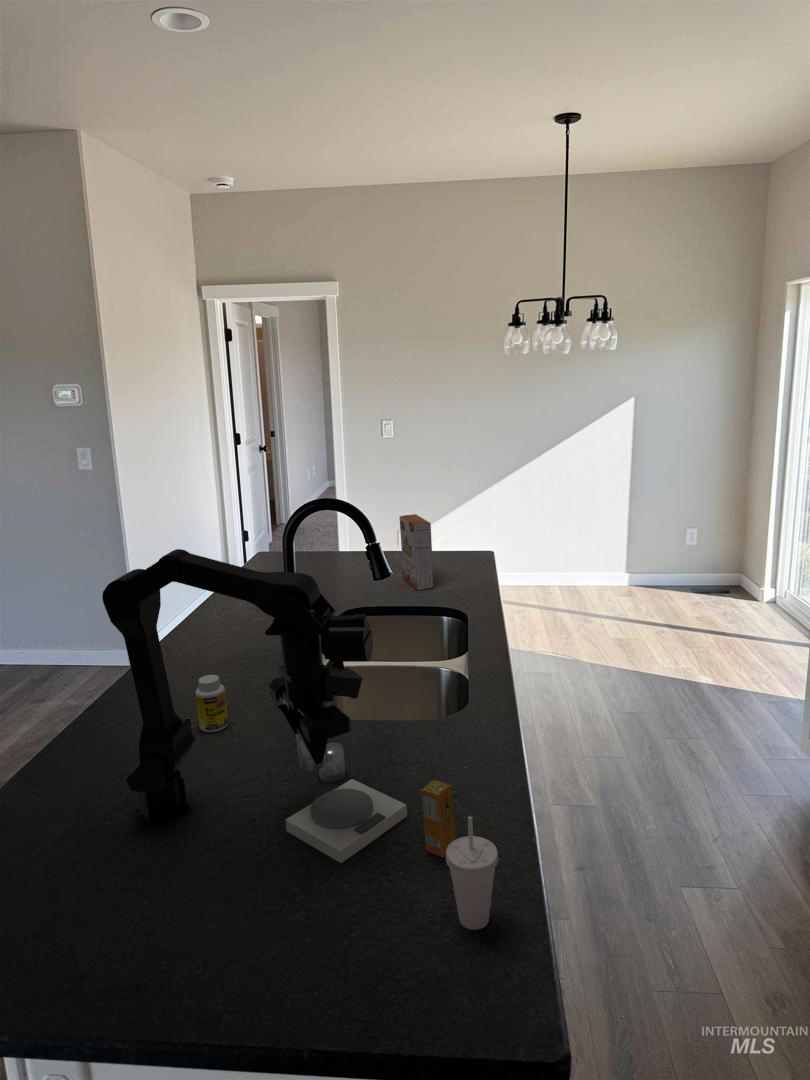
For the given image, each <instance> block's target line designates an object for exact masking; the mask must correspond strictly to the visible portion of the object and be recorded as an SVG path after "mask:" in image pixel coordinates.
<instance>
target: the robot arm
mask: <svg viewBox="0 0 810 1080" xmlns="http://www.w3.org/2000/svg"><path fill="white" fill-rule="evenodd" d="M171 583H178V584H182V585H185V586H186V585H187V586H189V587H193V588H197V589H199V590H200V589H201V590H203V591H208V592H211V593H215V594H218V595H222V596H226V597H230V598H233V599H237V600H241V601H245V602H248V603H249V604H251V605H254V606H256V607H257V608H258V610H260V611H261V612H262V613H264V614H266V615H267V616H270V617H272V618H273V621H272V622H271V624H270V625H269V627H268V628H267V629H265V630H264V635H266V636H279V639H280V640H279V641H280V649H281V659H282V665H280V666H279V672H280V674H281V675H282V676H280V677H276V678H273V679H272V681H271V682H270V684H269V685H268V690H269V696H270V698H271V699H272V700H273V701H274V702H275V703H279V702H280V700H281V699H282V703H281V704H279V705H278V706H277V708H278V711H279V712H280V713H281V714H282V716H283V718H284V719H285V721H286V723H287V724H288V726H289V728H290V730H291V731H292V733H293V735H294V736H295V737H296V733H297V731H298V733H299V735H300V737H301V739H302V740H303V742H304V744H305V746H306V748H307V750H308V752H309V754H310V755H311V757H312V759H313V761H314V763H315V764H316V765H317V764H320V763H322V762H323V758H324V754H325V749H326V745H327V743H328V740H329V739H331V738H335V737H337V736H341V735H345V734H348V733H350V731H351V730H352V727H351V718H350V717H349V715H347V714H346V713H345V712H344V711H343V710H342V708H340V707H338V706H336V705H335V704H333V705H329V706H326V705H324V704H323V703H324V702H325V703H328V702H333V701H334V700H335V697H345V698H351V699H352V700H353V699H358V698H359V695H360V692H361V691H360V690H361V687H362V682H363V677H362V676H361V675H360V674H358V673H357V672H356V671H355V670H353V669H350V668H349V667H346V666H345V665H344V663H346V662H347V663H348V662H351V663H352V662H353V663H357V662H359V663H361V662H364V663H366V662H370V661H371V659H372V656H373V648H374V637H373V636H374V635H373V634H374V633H373V631H372V629H371V626H370V623H369V622H368V618H367V613H355V614H352V615H351V614H350V615H349V614H347V615H346V614H345V615H343V614H342V615H335V614H336V609H335V607H333V605H332V604H331V603H330V602H329V601H328V600H327V599H326V598H325V596H324V595H323V594H322V593H321V591H320V588H319V585H318V583H317V582H316V581H315V578H314V577H312V576H311V575H309V574H307V573H301V572H294V571H293V572H292V571H291V572H290V571H273V572H272V571H271V572H270V571H269V572H267V571H266V572H265V571H258V570H253V569H250V568H247V567H243V566H239V565H235V564H232V563H228V562H224V561H220V560H216V559H212V558H210V557H209V558H208V557H205V556H201V555H198V554H194V553H190V552H189V551H187V550H185V549H180V548H179V549H173V550H172V551H169V552H168V553H166V554H165V555H163V556H162V557H160V558H159V559H158V561H156V562H155V563H153V564H152V565H150V566H148V567H147V568H145V569H144V568H136V569H135V568H134V569H133V570H130V571H128V572H127V573H125V574H124V575H123V574H122V575H121V576H120V577H118V578H115V580H113V581H111V582H109V583H107V585H106V586H105V588H104V590H102V596H101V599H102V604H103V606H104V609H105V610H106V613H107V616H108V618H109V621H110V622H111V624H112V625H113V626H114V627H115V628H116V630H117V631H119V633H120V634H121V635H122V636H123V639H124V643H125V648H126V652H127V658H128V662H129V666H130V670H131V671H130V672H131V676H132V680H133V685H134V689H135V690H134V691H135V693H136V698H137V702H138V707H139V712H140V717H141V720H142V721H141V722H142V726H141V729H140V735H139V741H138V746H137V747H138V748H137V749H138V763H139V764H138V766H137V767H136V768H135V769H134V770H133V771H132V773H130V775H129V776H127V778H126V780H125V782H126V783H127V785H128V787H129V789H130V791H131V792H136V797H137V805H138V808H136V809H135V810H134V814H135V815H136V816H137V817H139V818H140V819H142V820H143V821H144V822H146V823H147V824H148V825H150V826H152V827H153V828H158V827H161V826H162V825H164V824H166V823H168V822H169V821H171V820H173V819H175V818H177V817H179V816H180V815H182V814H184V813H186V812H188V811H190V810H191V805H190V804H189V803H187V799H188V798H187V791H186V783H185V778H184V777H182V774H181V773H182V772H181V771H180V770H178V769H179V768H180V766H182V765H183V764H184V760H185V759H186V758H187V757H188V756H189V755H190V753H191V751H193V744H194V742H195V741H196V738H195V736H194V735H193V731H192V721H191V719H190V718H186V719H181V717H180V716H179V715H178V714H177V713H176V712H175V709H174V705H173V700H172V694H171V691H170V689H171V688H170V685H169V681H168V676H167V670H166V666H165V661H164V656H163V652H162V646H161V642H160V639H159V633H158V620H159V616H160V611H161V606H162V605H161V589H163V588H164V587H166V586H168V585H169V584H171ZM312 610H313V611H315V613H314V614H313V613H312V612H311V611H312ZM323 655H324V656H323ZM323 657H324V660H328V661H327V662H326V663H325V664H324V663H323ZM334 696H335V697H334Z"/></svg>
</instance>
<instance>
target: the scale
mask: <svg viewBox="0 0 810 1080" xmlns="http://www.w3.org/2000/svg"><path fill="white" fill-rule="evenodd" d="M407 807H408V806H407V804H405V803H403V802H402V801H399V800H397V799H395V798H393V797H391V796H390V795H387V794H385V793H383V792H381V791H378V790H377V789H374V788H372V787H370V786H367V785H366V784H364V783H361V782H359V781H357V780H355V779H353V778H352V779H350V780H348V781H347V782H345V783H343V784H342V785H339V786H338V787H337V788H335V789H333V790H330V791H327V792H325V793H323V794H321V795H319V796H318V797H316V798H315V799H314V800H313V802H312V803H310V804H309V805H307V806H306V807H304V808H302V809H301V810H299V811H297V812H295V813H294V814H292V815H290V816H289V817H287V818H286V819H285V831H286V832H287V833H289V834H290V835H292V836H294V837H295V838H297V839H298V840H300V841H302V842H304V843H306V844H307V845H310V846H311V847H313V849H316V850H318V851H319V852H321V853H323V854H324V855H326V856H328V857H329V858H331V859H333V860H334V861H336V862H338V863H340V864H343V863H345V861H347V860H348V859H350V858H351V857H353V856H354V855H355V854H357V852H359V851H361V850H362V849H364V848H365V847H366V846H367V845H370V843H372V842H374V841H375V840H376V839H377V838H379V837H380V836H382V835H383V834H385V832H387V831H389V830H390V829H392V828H393V827H394V826H396V825H397V824H399V822H401V821H403V820H405V818H407V817H408V809H407Z"/></svg>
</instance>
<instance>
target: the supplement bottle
mask: <svg viewBox="0 0 810 1080" xmlns="http://www.w3.org/2000/svg"><path fill="white" fill-rule="evenodd" d="M220 680H221V679H220V677H219V676H218V675H217V674H209V675H204V676H202V677H199V678H198V680H197V681H198V682H197V683H198V687H197V689H196V690H195V701H196V707H197V716H198V723H199V724H198V725H199V729H200V730H201V731H203V732H205V733H215V732H219V731H221V730H224V729H225V728H226V727H227V726H228V725H229V717H228V709H227V708H228V706H227V697H226V689H225V686H224V685H223V684H221V681H220Z"/></svg>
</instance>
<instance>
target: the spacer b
mask: <svg viewBox="0 0 810 1080" xmlns="http://www.w3.org/2000/svg"><path fill="white" fill-rule="evenodd" d="M327 752H328V764H327V765H326V766H324V767H323V768H320V769H318V772H319V773H318V775H319V779H320V781H321V782H324V783H331V784H333V783H337V782H340V781H343V779H344V778H345V777H346V767H345V766H346V765H345V755H344V754H345V753H344V752H345V751H344V746H343V745H342V744H341V743H338V742H327Z"/></svg>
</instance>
